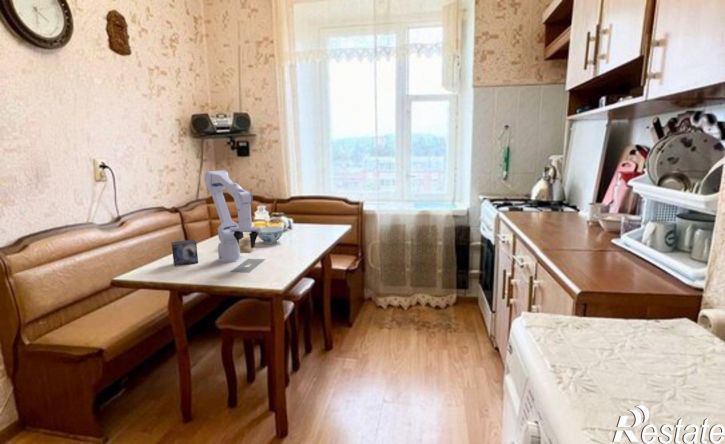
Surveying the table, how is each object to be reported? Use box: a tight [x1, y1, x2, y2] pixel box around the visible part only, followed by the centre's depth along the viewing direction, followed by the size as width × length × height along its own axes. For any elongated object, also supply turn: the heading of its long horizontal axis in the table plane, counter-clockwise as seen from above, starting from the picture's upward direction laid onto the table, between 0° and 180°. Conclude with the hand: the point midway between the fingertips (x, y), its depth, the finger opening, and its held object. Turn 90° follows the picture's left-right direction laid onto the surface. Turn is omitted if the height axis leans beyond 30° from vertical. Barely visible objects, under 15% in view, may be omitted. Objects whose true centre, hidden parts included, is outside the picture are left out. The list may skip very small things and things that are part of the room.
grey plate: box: [229, 258, 267, 274], centre depth 184 cm, size 9×20×1 cm, turn 173°
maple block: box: [239, 236, 256, 254], centre depth 182 cm, size 5×5×6 cm
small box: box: [171, 239, 199, 267], centre depth 189 cm, size 11×6×10 cm, turn 117°
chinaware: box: [257, 225, 284, 245], centre depth 226 cm, size 15×15×8 cm
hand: (247, 247), depth 182 cm, fingers closed on maple block, 5 cm apart
